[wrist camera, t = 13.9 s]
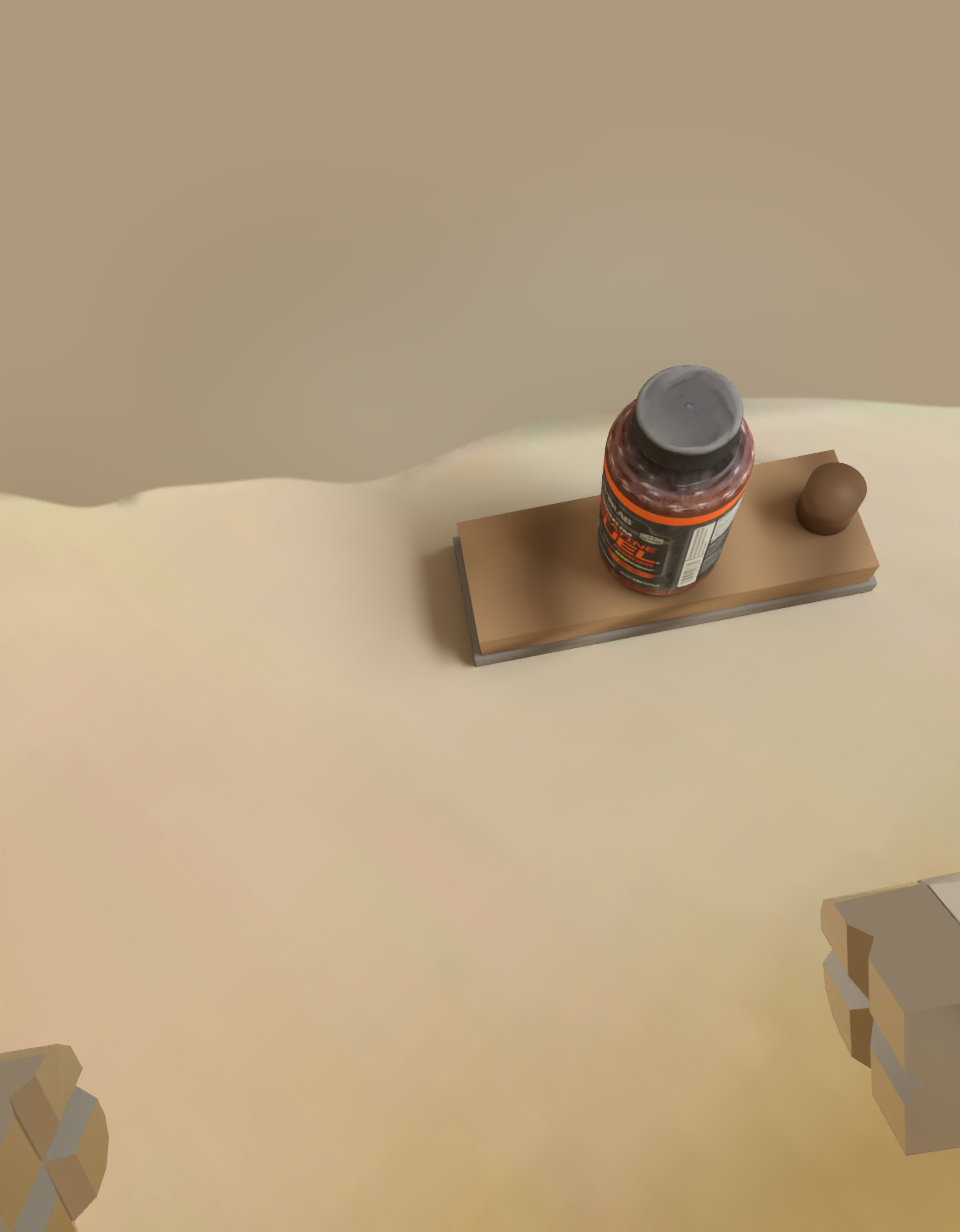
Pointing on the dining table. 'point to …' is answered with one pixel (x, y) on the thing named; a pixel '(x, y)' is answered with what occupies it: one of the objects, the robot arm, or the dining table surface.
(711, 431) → the supplement bottle
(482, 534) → the body
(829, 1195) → the dining table surface
